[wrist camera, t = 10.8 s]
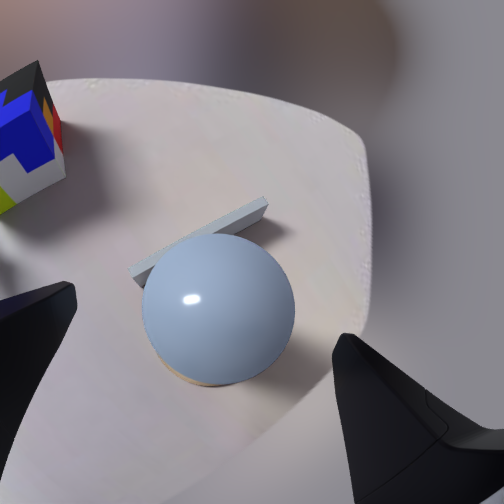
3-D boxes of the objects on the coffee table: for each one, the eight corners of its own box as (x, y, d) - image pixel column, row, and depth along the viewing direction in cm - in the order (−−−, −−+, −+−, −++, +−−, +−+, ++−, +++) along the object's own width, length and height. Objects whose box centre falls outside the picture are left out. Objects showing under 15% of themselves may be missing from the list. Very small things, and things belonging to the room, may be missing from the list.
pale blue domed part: (198, 375, 19) (198, 413, 8) (161, 318, 20) (116, 279, 9) (254, 339, 21) (322, 326, 9) (217, 284, 22) (240, 209, 10)
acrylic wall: (140, 287, 21) (132, 278, 18) (135, 278, 21) (127, 268, 18) (260, 219, 25) (268, 203, 22) (255, 212, 25) (263, 196, 22)
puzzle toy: (66, 177, 23) (29, 109, 14) (-4, 217, 20) (-53, 168, 10) (60, 120, 25) (38, 59, 16) (-2, 155, 22) (-34, 105, 13)
